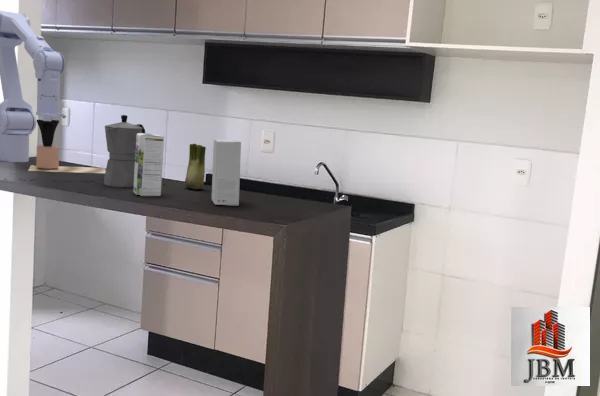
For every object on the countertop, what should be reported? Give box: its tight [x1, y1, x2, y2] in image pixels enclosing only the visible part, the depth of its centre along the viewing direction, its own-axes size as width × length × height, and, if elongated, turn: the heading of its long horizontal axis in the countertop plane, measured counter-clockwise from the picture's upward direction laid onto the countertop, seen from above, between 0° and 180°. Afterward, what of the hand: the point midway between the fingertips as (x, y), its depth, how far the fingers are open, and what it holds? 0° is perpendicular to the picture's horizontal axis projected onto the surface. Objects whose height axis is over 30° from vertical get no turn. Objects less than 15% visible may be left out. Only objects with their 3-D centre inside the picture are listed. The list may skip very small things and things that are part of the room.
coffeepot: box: [102, 114, 146, 189], centre depth 160 cm, size 15×9×18 cm, turn 159°
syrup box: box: [132, 132, 165, 197], centre depth 148 cm, size 6×6×14 cm
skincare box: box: [211, 139, 242, 207], centre depth 145 cm, size 8×6×15 cm
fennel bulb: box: [184, 143, 207, 190], centre depth 162 cm, size 6×5×12 cm
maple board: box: [27, 164, 106, 175], centre depth 174 cm, size 20×12×1 cm, turn 110°
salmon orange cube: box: [36, 144, 60, 168], centre depth 171 cm, size 6×6×6 cm
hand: (47, 146), depth 171 cm, fingers closed
